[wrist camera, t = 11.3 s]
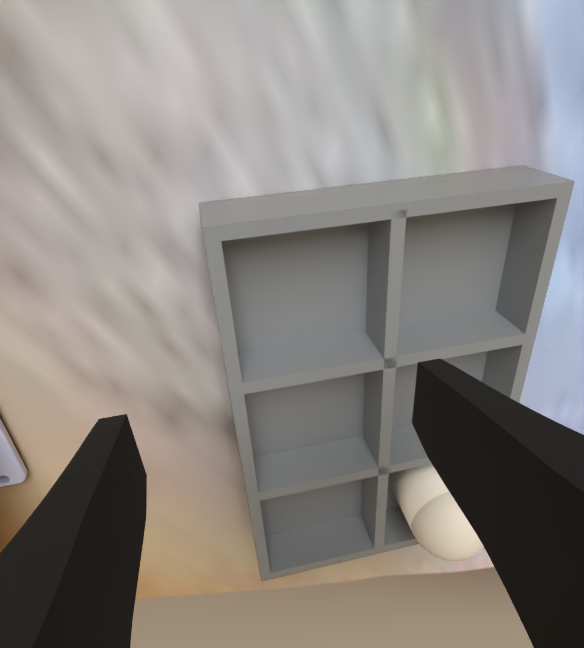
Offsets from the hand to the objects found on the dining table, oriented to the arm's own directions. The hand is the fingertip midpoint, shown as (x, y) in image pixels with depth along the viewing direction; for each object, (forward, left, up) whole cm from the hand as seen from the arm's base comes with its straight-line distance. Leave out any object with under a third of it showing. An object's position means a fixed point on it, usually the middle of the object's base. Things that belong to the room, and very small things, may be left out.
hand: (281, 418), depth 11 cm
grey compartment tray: (+6, -8, -10) cm, 14 cm away
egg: (+10, -15, -10) cm, 20 cm away
